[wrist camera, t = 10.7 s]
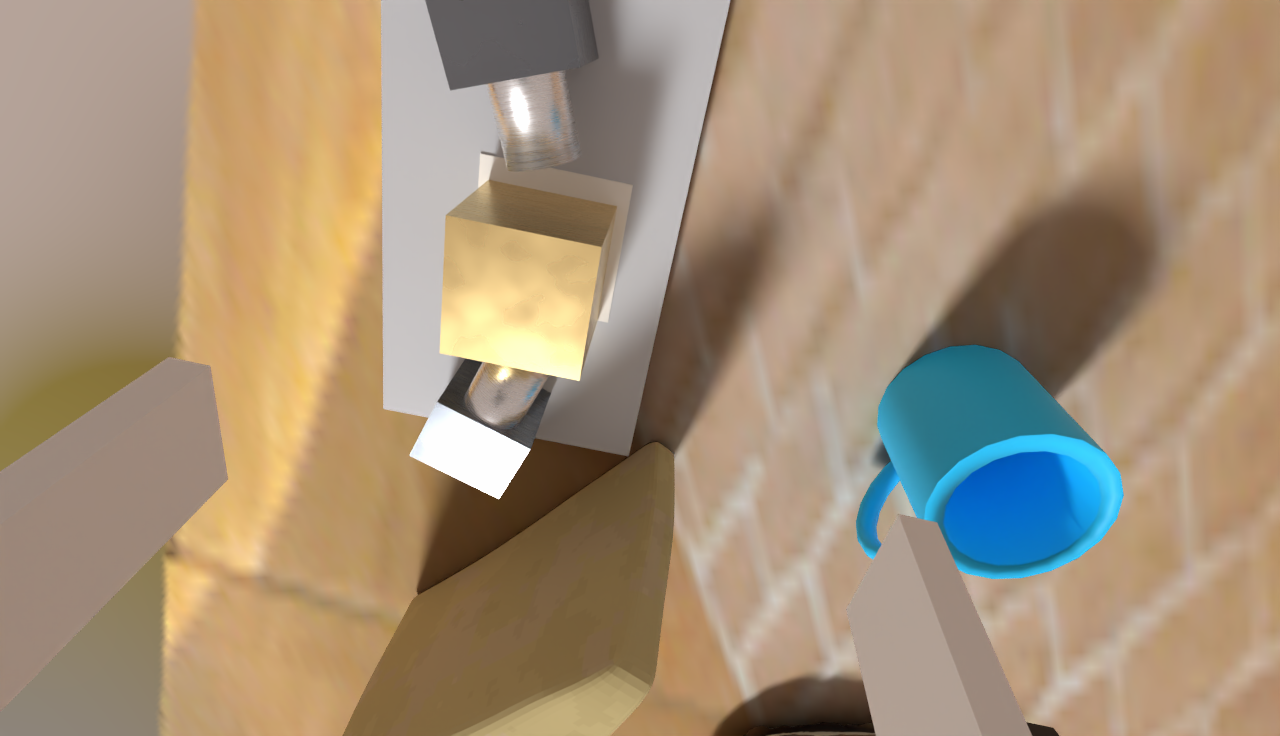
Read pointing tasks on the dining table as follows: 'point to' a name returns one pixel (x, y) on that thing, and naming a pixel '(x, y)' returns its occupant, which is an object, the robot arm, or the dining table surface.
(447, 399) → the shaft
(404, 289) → the grey base plate
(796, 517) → the dining table surface
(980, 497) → the mug
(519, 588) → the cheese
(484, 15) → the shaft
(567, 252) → the block
